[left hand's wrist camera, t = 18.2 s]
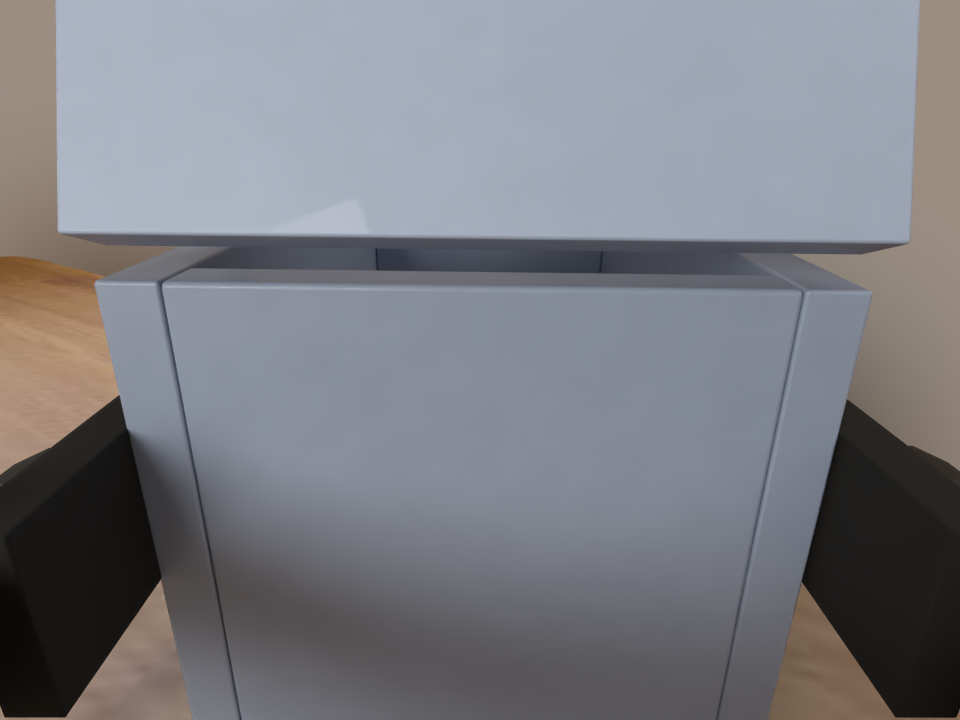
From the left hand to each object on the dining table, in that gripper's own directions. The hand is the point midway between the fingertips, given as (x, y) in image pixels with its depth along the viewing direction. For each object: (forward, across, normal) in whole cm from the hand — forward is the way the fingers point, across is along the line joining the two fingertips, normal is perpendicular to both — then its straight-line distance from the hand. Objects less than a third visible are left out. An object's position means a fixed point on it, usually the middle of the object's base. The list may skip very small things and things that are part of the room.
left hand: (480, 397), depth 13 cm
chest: (+4, 0, -7) cm, 8 cm away
